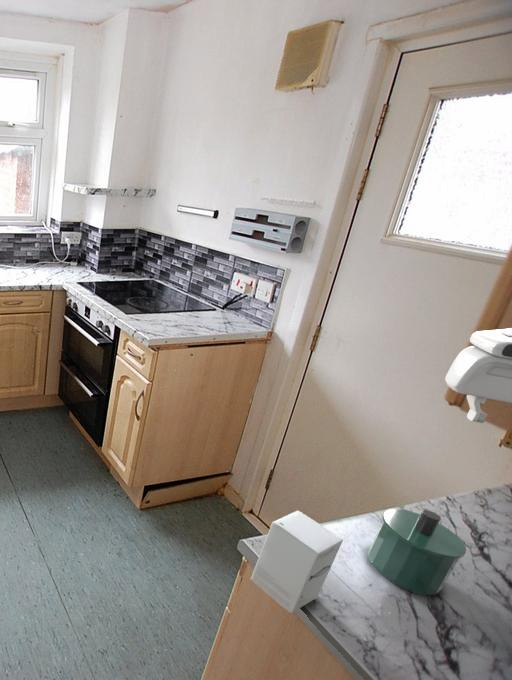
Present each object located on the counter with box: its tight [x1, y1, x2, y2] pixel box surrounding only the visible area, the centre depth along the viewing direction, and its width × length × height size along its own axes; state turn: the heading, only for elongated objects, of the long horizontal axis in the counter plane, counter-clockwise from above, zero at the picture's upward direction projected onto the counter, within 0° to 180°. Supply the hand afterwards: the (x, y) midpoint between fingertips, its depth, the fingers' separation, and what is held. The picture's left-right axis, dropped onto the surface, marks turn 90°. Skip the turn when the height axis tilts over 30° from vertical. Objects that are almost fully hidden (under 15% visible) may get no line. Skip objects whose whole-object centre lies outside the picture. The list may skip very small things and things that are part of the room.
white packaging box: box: [250, 510, 344, 615], centre depth 74 cm, size 7×7×13 cm
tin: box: [367, 521, 460, 596], centre depth 81 cm, size 10×10×8 cm
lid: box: [382, 508, 467, 559], centre depth 78 cm, size 11×11×5 cm
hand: (510, 427), depth 74 cm, fingers open, 8 cm apart
